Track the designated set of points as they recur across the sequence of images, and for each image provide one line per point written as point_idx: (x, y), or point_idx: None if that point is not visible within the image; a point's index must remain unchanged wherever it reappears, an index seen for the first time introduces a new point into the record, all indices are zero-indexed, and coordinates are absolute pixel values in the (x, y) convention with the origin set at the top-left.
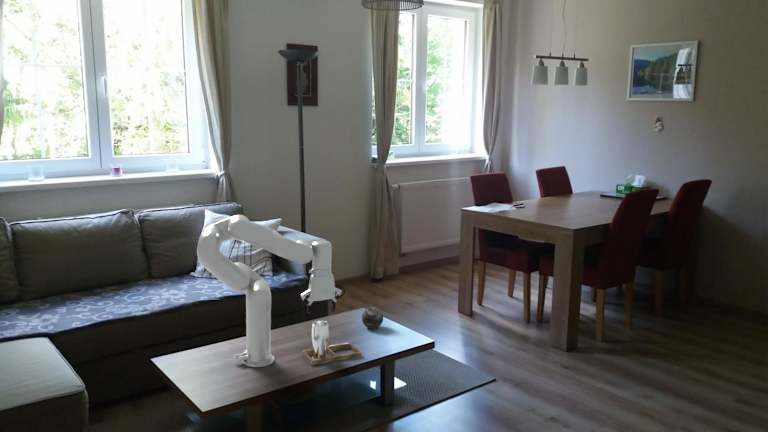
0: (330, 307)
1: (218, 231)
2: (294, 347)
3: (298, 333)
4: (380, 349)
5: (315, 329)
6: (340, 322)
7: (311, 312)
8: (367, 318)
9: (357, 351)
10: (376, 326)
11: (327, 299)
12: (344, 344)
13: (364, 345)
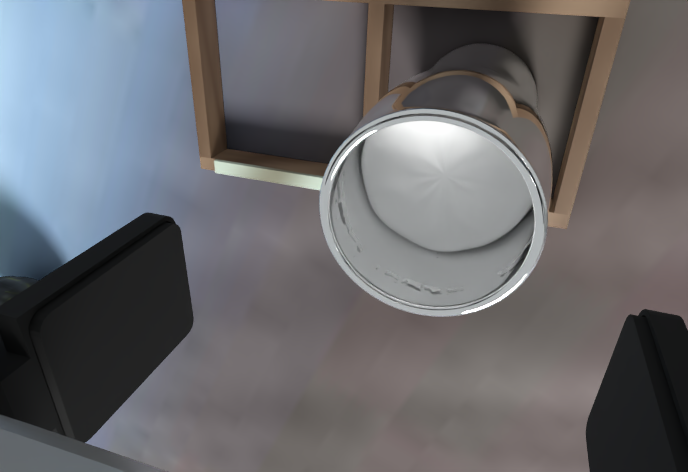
0: (164, 335)
1: None
2: (531, 336)
3: (404, 453)
4: (63, 35)
5: (542, 158)
6: (172, 424)
7: (668, 342)
8: None
9: (200, 19)
10: (23, 277)
11: (54, 436)
12: (243, 163)
13: (135, 139)
